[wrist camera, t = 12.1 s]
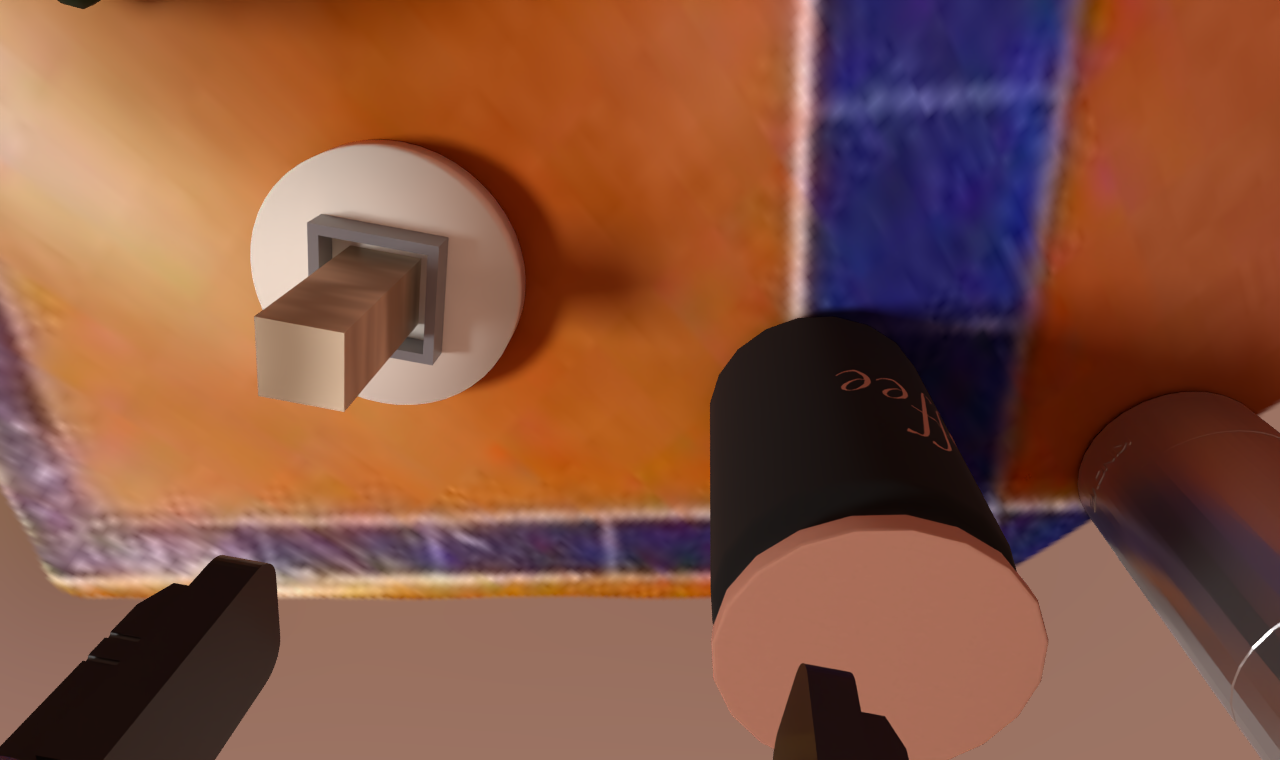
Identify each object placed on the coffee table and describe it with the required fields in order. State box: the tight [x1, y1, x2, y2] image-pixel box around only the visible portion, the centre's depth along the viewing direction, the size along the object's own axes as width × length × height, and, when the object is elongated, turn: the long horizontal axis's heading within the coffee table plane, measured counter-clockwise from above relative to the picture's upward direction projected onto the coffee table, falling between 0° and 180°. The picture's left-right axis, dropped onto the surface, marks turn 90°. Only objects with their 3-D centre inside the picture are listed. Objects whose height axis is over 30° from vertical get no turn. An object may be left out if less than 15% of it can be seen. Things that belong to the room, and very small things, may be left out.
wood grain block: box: [254, 245, 421, 412], centre depth 35 cm, size 3×3×9 cm
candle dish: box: [251, 140, 526, 405], centre depth 39 cm, size 13×13×4 cm
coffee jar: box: [710, 317, 1048, 760], centre depth 34 cm, size 11×11×18 cm
